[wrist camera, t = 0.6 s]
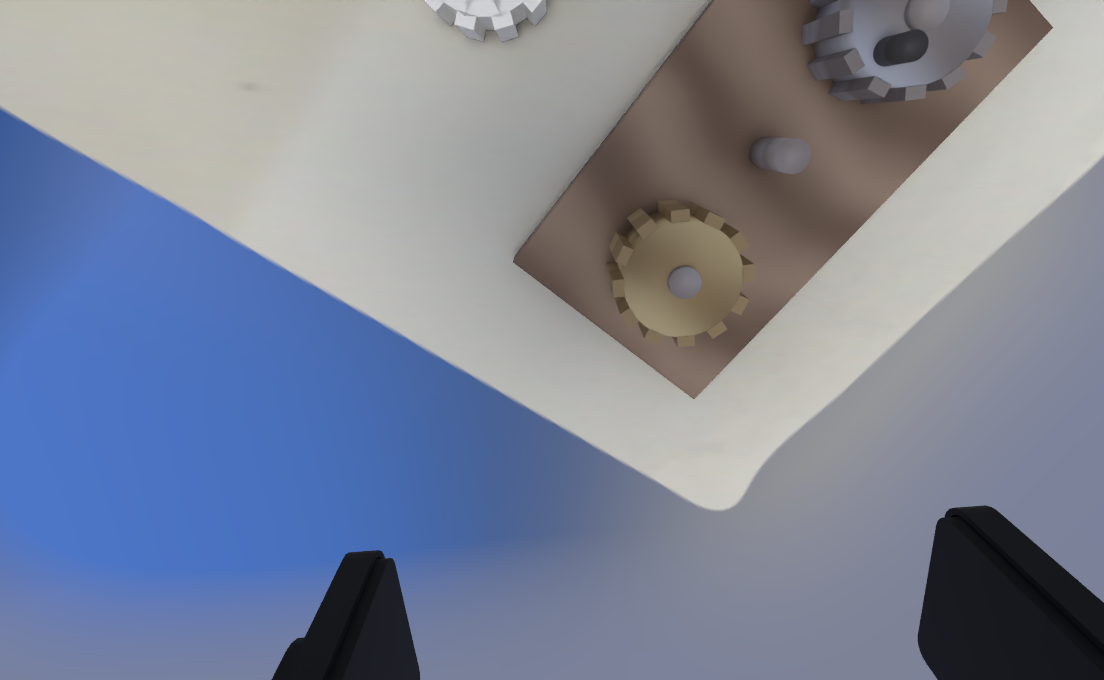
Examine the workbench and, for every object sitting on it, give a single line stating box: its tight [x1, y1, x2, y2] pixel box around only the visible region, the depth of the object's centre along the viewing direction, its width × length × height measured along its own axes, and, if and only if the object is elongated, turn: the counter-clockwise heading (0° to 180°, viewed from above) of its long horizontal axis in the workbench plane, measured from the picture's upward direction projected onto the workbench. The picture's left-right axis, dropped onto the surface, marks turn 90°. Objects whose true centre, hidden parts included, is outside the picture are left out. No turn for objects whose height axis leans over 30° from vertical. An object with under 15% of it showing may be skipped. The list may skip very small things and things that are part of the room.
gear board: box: [513, 0, 1053, 399], centre depth 29 cm, size 26×14×8 cm, turn 142°
